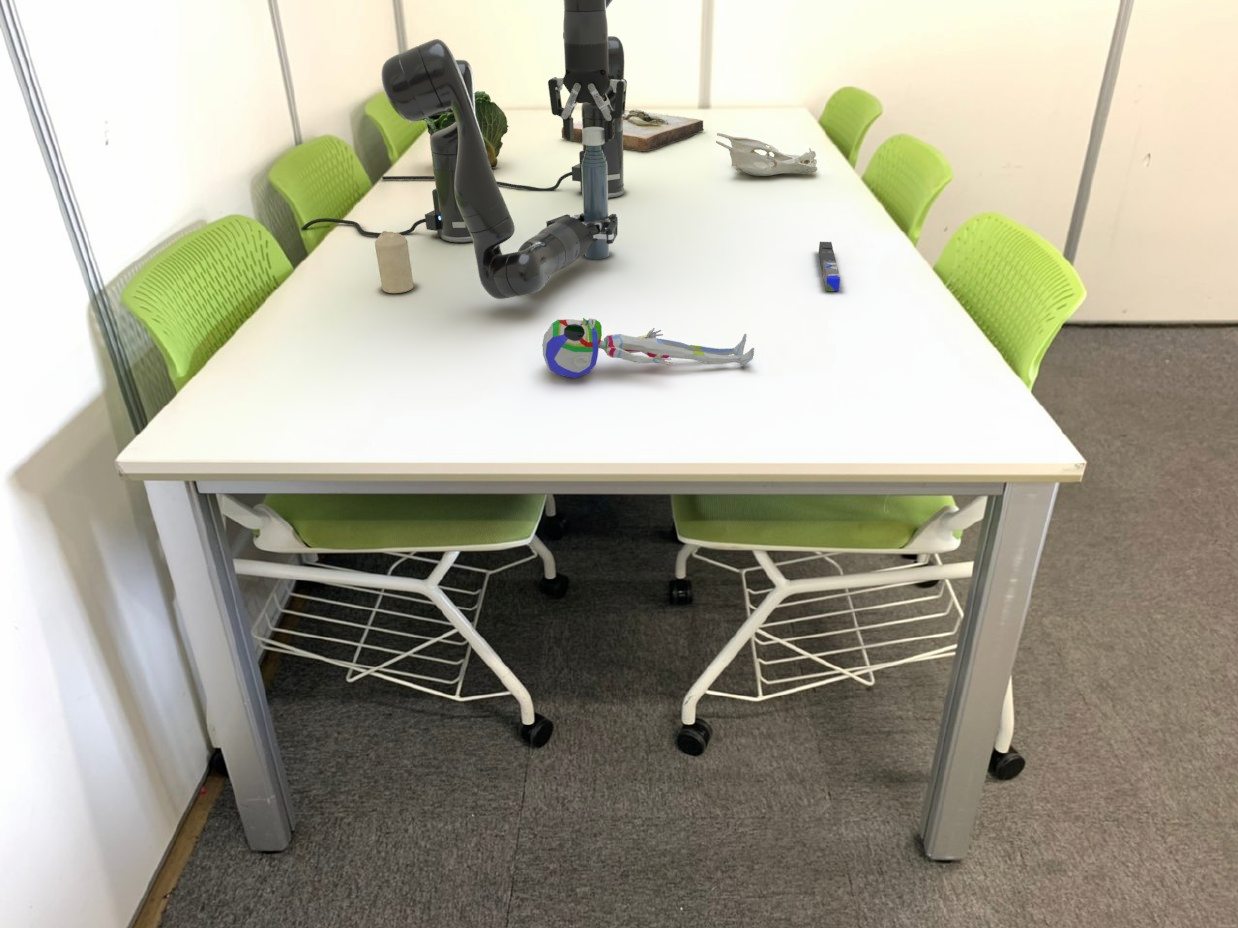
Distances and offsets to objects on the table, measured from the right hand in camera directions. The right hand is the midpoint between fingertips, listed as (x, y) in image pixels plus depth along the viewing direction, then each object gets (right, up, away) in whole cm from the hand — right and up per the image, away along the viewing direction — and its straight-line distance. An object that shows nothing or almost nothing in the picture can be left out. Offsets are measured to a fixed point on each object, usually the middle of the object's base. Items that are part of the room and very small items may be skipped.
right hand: (589, 140), depth 162 cm
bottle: (+1, -18, +11) cm, 21 cm away
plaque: (+10, +37, +97) cm, 105 cm away
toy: (+10, -44, -30) cm, 55 cm away
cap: (+1, +1, -1) cm, 2 cm away
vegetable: (-33, +17, +68) cm, 78 cm away
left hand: (+2, -11, +10) cm, 15 cm away
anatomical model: (+42, +13, +60) cm, 74 cm away
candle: (-34, -27, -2) cm, 43 cm away
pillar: (+44, -23, +2) cm, 49 cm away
